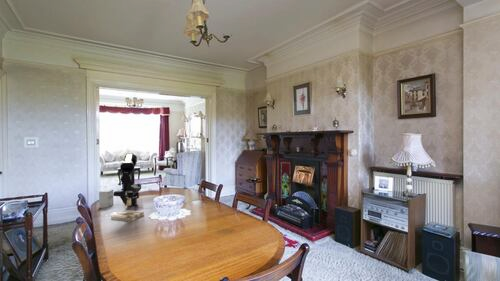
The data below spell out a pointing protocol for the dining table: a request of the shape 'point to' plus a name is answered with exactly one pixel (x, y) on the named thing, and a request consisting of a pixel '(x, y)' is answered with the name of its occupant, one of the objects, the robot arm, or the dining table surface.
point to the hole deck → (131, 217)
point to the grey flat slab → (113, 214)
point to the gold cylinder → (128, 201)
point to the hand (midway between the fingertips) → (127, 203)
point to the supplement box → (105, 198)
